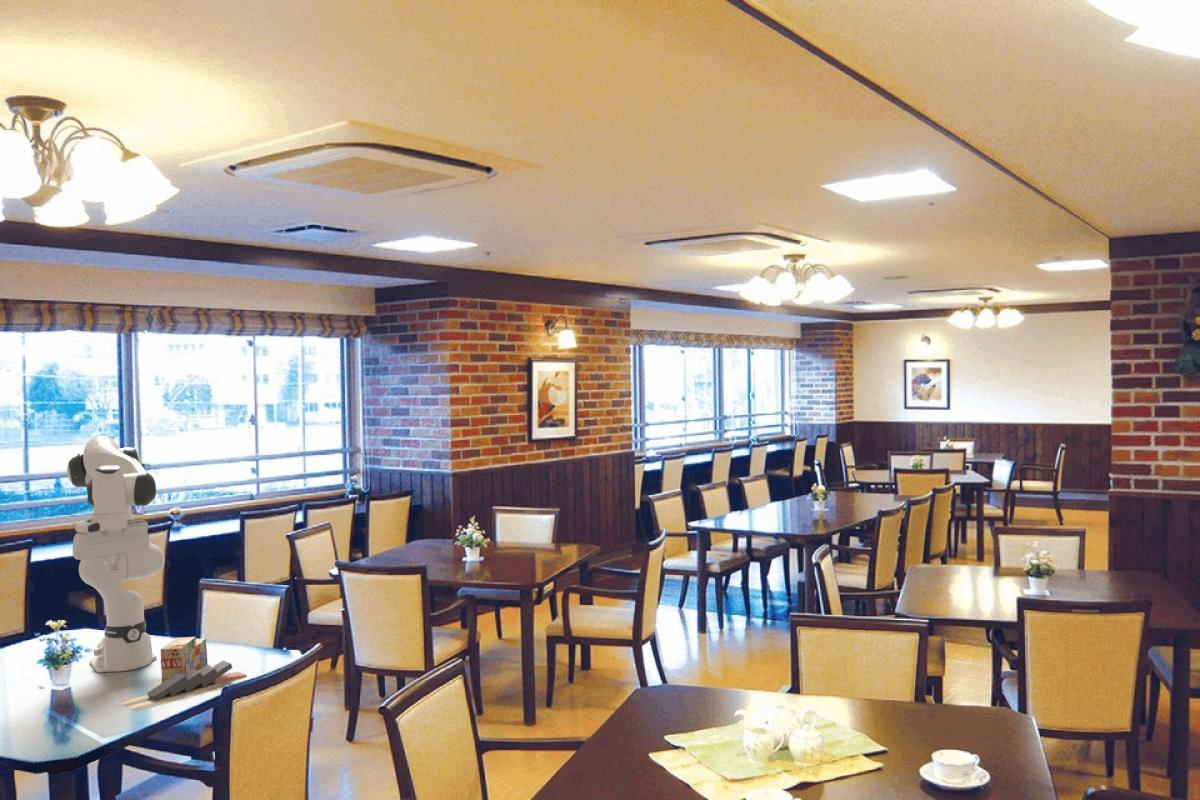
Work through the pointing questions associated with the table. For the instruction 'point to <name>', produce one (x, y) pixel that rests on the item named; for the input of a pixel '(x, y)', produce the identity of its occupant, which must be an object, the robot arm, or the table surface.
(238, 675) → the domino
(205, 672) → the domino
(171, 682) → the domino
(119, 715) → the table surface
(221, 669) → the domino
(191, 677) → the domino
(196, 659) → the stack of blocks
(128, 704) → the domino board
